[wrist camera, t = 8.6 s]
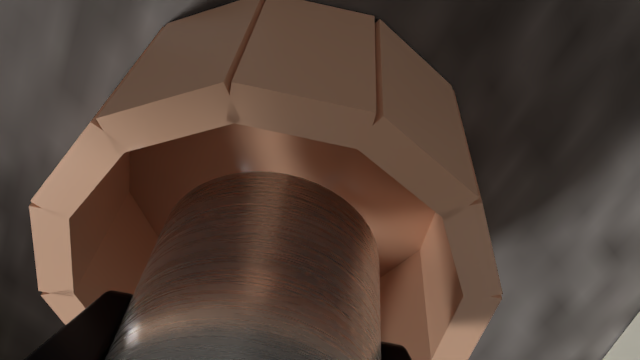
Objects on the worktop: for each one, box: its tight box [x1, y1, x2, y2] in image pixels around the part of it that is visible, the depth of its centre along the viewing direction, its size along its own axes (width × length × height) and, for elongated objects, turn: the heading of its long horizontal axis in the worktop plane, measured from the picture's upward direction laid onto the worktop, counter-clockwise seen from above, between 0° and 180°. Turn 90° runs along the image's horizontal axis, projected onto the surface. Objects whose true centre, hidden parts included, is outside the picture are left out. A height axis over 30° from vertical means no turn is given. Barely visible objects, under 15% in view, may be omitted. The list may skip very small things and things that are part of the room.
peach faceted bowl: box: [29, 0, 503, 360], centre depth 11 cm, size 8×8×4 cm
